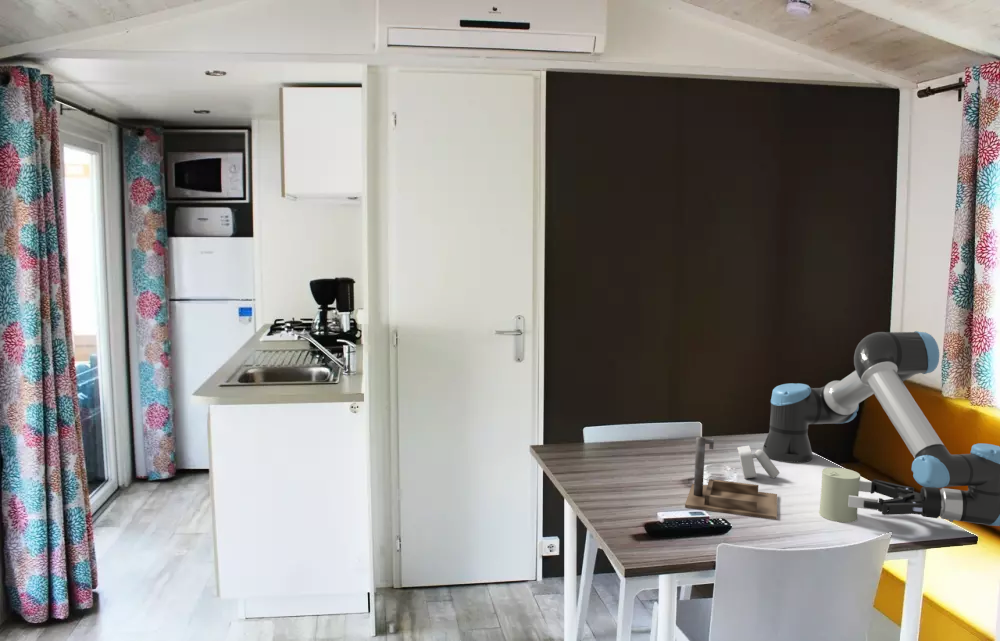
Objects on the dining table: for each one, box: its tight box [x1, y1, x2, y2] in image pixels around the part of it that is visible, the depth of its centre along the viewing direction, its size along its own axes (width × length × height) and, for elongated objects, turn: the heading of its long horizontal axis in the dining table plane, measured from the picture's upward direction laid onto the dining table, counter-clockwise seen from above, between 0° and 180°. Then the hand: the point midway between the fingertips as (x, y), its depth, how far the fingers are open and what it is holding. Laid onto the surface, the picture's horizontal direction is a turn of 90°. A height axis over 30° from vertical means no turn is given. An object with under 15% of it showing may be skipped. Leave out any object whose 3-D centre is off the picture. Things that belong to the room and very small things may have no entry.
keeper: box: [684, 436, 778, 520], centre depth 209 cm, size 23×18×17 cm
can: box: [818, 467, 861, 523], centre depth 200 cm, size 9×9×12 cm
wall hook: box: [736, 445, 780, 480], centre depth 231 cm, size 8×10×10 cm
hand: (846, 492), depth 199 cm, fingers open, 13 cm apart
